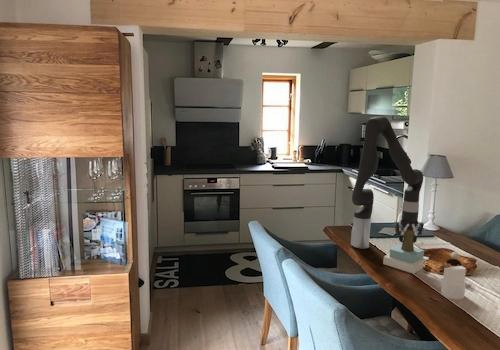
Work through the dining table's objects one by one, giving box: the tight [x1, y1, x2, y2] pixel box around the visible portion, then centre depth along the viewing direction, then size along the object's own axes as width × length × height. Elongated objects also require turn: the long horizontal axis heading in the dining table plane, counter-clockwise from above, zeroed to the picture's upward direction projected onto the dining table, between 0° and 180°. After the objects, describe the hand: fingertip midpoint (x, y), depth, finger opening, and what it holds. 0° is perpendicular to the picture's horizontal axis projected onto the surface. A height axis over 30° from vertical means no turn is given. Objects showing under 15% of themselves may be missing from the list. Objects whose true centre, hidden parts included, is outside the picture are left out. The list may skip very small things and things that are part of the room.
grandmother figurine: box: [443, 251, 463, 267], centre depth 190 cm, size 8×4×13 cm, turn 71°
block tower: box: [382, 243, 430, 275], centre depth 205 cm, size 16×16×8 cm
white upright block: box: [440, 265, 467, 300], centre depth 173 cm, size 9×9×12 cm
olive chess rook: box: [401, 229, 414, 252], centre depth 204 cm, size 6×6×11 cm
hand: (407, 242), depth 204 cm, fingers open, 5 cm apart
